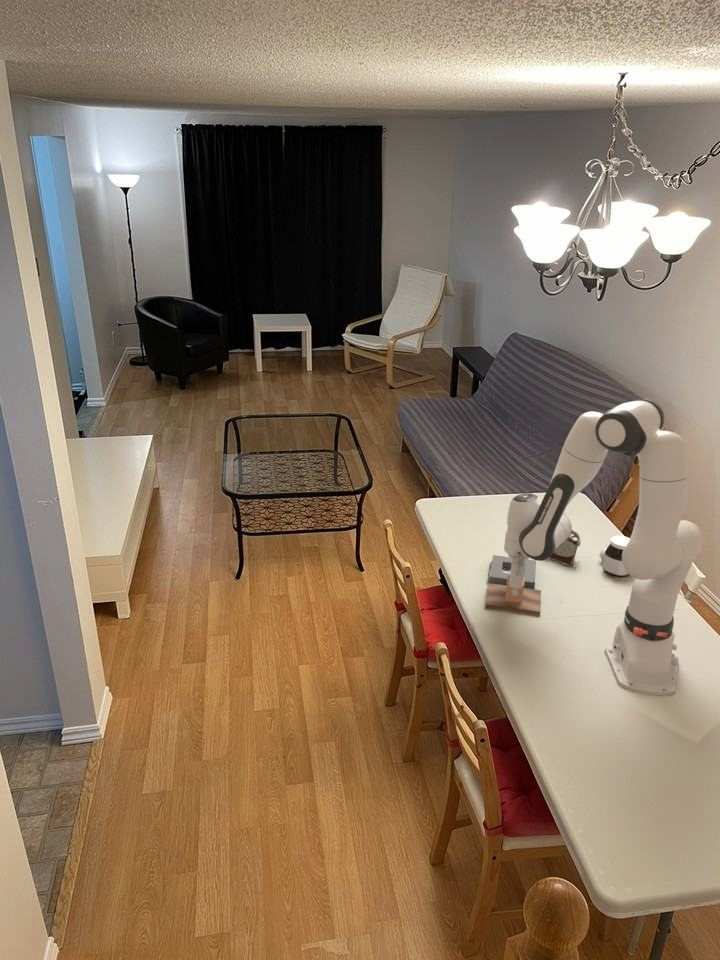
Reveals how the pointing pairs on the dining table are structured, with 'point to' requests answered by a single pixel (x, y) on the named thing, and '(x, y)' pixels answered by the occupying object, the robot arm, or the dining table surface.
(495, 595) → the walnut board
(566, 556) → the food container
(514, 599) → the terracotta block
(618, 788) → the dining table surface
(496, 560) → the pocket plate
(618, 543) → the spread jar
